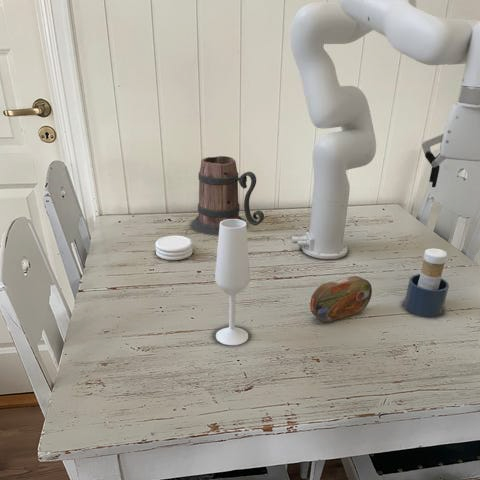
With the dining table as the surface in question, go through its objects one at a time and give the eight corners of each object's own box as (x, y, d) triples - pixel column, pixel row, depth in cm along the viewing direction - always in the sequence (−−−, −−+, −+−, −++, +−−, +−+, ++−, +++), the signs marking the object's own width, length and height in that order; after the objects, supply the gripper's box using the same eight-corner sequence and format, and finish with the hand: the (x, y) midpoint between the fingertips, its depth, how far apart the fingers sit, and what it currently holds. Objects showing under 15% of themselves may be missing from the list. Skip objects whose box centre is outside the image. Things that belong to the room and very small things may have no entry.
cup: (412, 317, 107) (418, 291, 103) (398, 299, 114) (404, 274, 110) (448, 316, 107) (455, 290, 104) (432, 298, 114) (438, 273, 111)
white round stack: (149, 257, 132) (148, 245, 130) (167, 244, 140) (166, 232, 138) (182, 263, 129) (181, 251, 127) (198, 249, 137) (198, 238, 135)
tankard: (181, 228, 150) (178, 162, 140) (208, 212, 163) (207, 150, 153) (250, 242, 142) (252, 173, 131) (273, 224, 154) (276, 160, 144)
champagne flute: (237, 348, 96) (239, 233, 83) (209, 338, 99) (206, 225, 86) (254, 333, 100) (258, 221, 88) (227, 323, 103) (227, 214, 91)
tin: (314, 326, 103) (318, 291, 99) (306, 319, 105) (309, 284, 101) (369, 310, 109) (376, 276, 105) (360, 304, 112) (366, 271, 107)
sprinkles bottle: (423, 300, 113) (436, 246, 106) (438, 309, 110) (452, 254, 103) (408, 304, 111) (420, 249, 104) (422, 313, 108) (436, 257, 101)
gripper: (528, 97, 92) (502, 187, 101) (431, 92, 97) (415, 179, 106) (534, 102, 86) (506, 197, 95) (430, 97, 91) (413, 188, 100)
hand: (458, 188), depth 100 cm, fingers open, 9 cm apart
